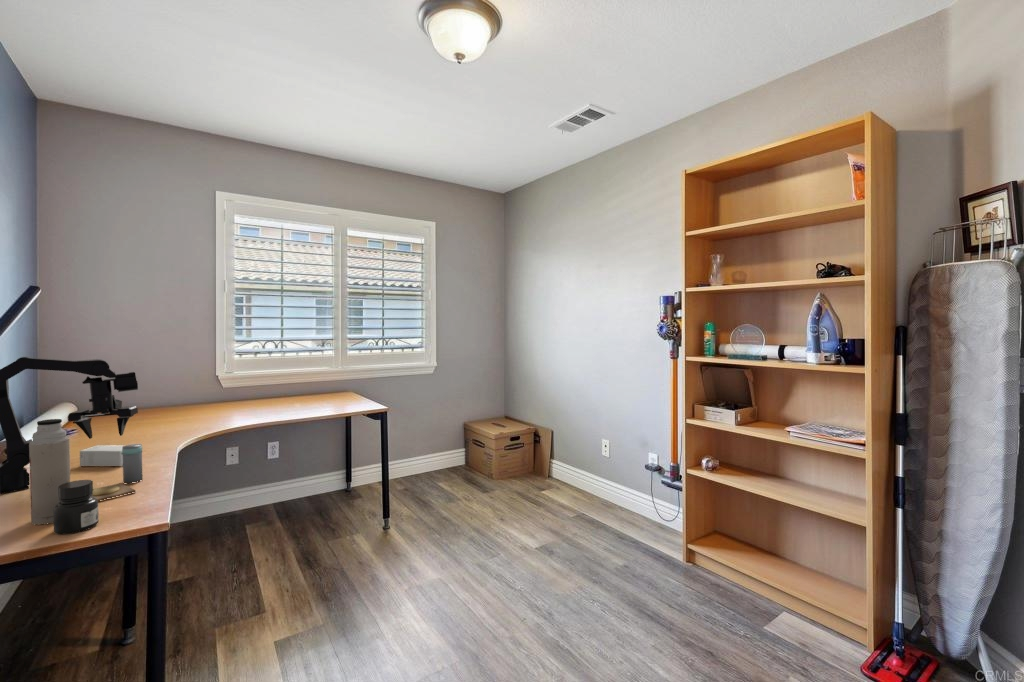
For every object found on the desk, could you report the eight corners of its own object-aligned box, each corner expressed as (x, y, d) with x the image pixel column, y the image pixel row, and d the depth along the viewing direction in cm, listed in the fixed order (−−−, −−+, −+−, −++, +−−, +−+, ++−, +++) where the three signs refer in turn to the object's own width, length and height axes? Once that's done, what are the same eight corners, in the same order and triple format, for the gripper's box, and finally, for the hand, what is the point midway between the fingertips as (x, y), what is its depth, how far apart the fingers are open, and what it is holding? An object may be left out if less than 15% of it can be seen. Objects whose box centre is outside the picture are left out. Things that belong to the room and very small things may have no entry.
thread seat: (87, 504, 142) (86, 499, 141) (73, 496, 148) (73, 491, 148) (135, 493, 152) (135, 488, 152) (120, 485, 158) (120, 481, 158)
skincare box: (79, 466, 178) (119, 468, 178) (78, 449, 178) (119, 450, 177) (98, 460, 186) (137, 461, 186) (98, 443, 186) (137, 444, 186)
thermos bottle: (24, 527, 126) (22, 423, 125) (40, 515, 133) (38, 418, 132) (63, 522, 129) (60, 421, 128) (76, 511, 136) (74, 416, 135)
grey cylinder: (126, 485, 159) (125, 448, 158) (120, 482, 162) (119, 446, 161) (145, 480, 163) (144, 445, 163) (139, 477, 166) (138, 443, 166)
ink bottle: (94, 531, 124) (93, 486, 124) (49, 538, 119) (47, 492, 119) (101, 518, 132) (101, 476, 132) (59, 525, 128) (58, 481, 127)
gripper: (142, 388, 178) (147, 428, 179) (83, 392, 173) (88, 434, 174) (127, 393, 167) (132, 436, 168) (64, 398, 162) (69, 442, 163)
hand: (106, 436), depth 169 cm, fingers open, 9 cm apart
